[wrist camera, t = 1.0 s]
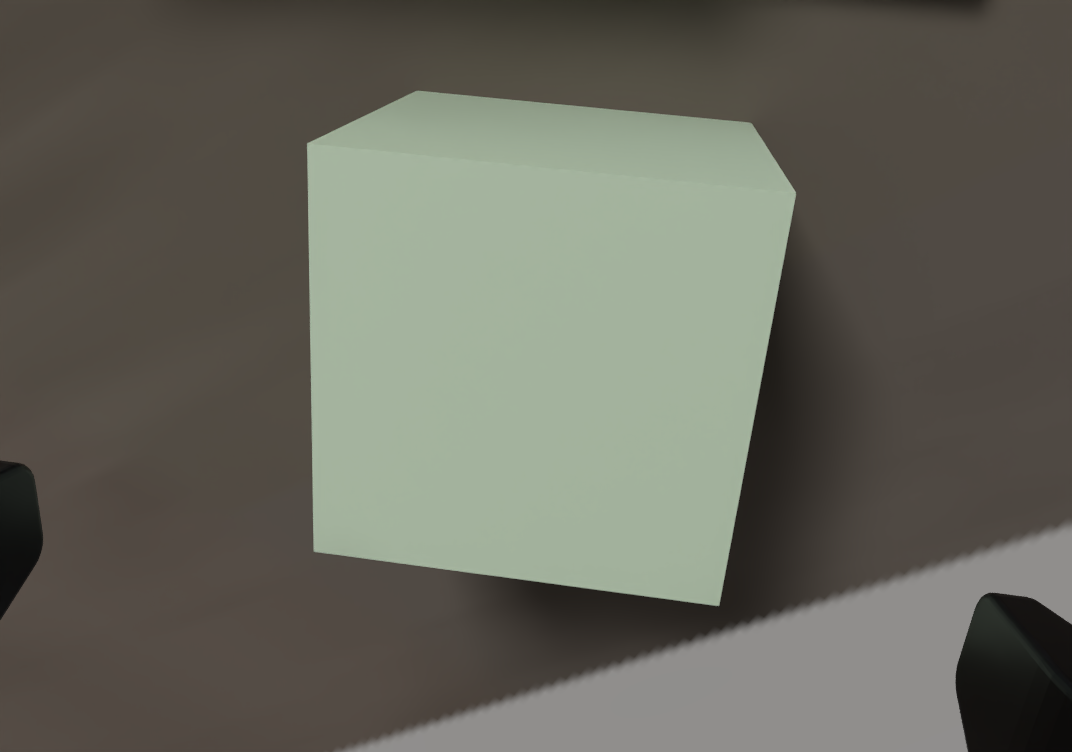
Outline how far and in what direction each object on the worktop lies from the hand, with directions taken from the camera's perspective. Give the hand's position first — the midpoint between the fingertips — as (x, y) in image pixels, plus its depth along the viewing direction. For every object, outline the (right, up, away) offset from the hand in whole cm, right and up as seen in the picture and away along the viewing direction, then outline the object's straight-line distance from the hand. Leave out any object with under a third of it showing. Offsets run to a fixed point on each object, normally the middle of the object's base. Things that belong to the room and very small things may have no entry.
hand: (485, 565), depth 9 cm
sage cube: (+1, +4, +9) cm, 10 cm away
